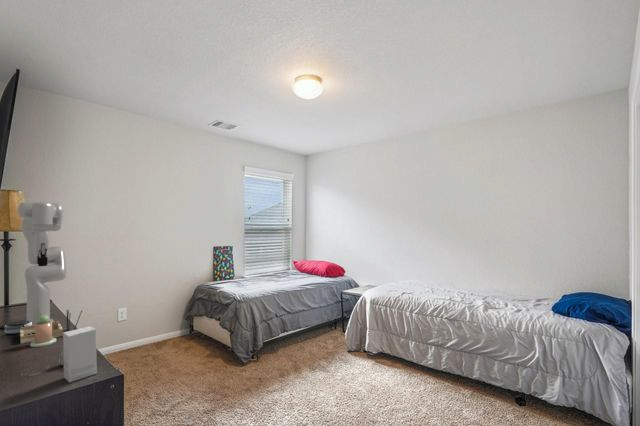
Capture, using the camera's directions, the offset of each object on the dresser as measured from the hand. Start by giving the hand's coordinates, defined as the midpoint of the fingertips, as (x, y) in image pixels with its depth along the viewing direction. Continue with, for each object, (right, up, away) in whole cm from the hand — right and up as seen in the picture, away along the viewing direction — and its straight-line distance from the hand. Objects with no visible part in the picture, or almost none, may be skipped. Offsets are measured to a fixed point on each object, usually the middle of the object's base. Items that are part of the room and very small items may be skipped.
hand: (42, 264), depth 158 cm
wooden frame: (-2, -34, +2) cm, 34 cm away
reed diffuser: (+38, -32, -33) cm, 60 cm away
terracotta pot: (+8, -33, -9) cm, 35 cm away
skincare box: (+49, -32, -43) cm, 73 cm away
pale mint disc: (+8, -34, -9) cm, 36 cm away
